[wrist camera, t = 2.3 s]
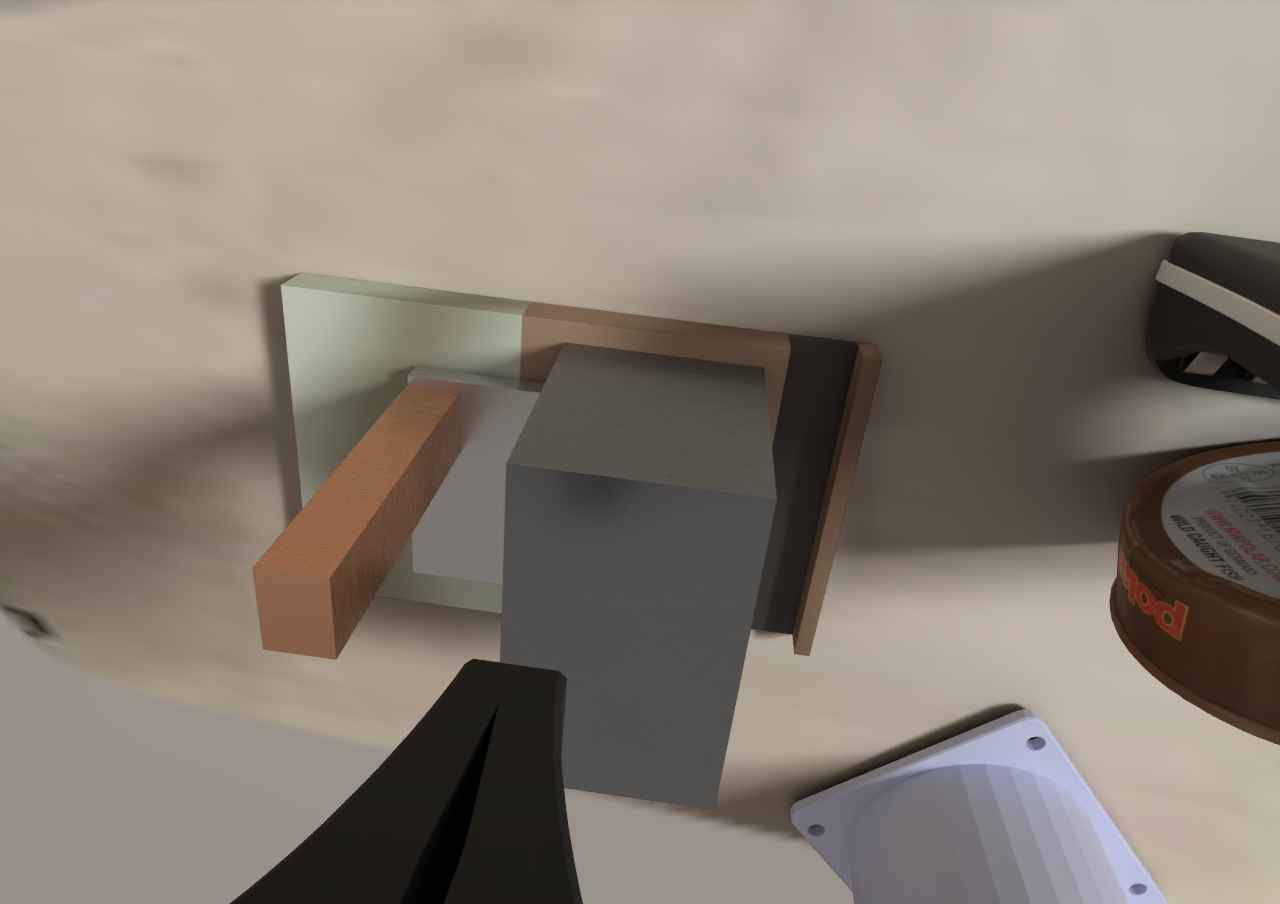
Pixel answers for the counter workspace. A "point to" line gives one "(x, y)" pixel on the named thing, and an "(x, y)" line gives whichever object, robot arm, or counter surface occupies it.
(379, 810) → the robot arm
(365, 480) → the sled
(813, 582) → the track board
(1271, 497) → the tin
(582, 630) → the grey box
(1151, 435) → the counter surface
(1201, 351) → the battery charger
